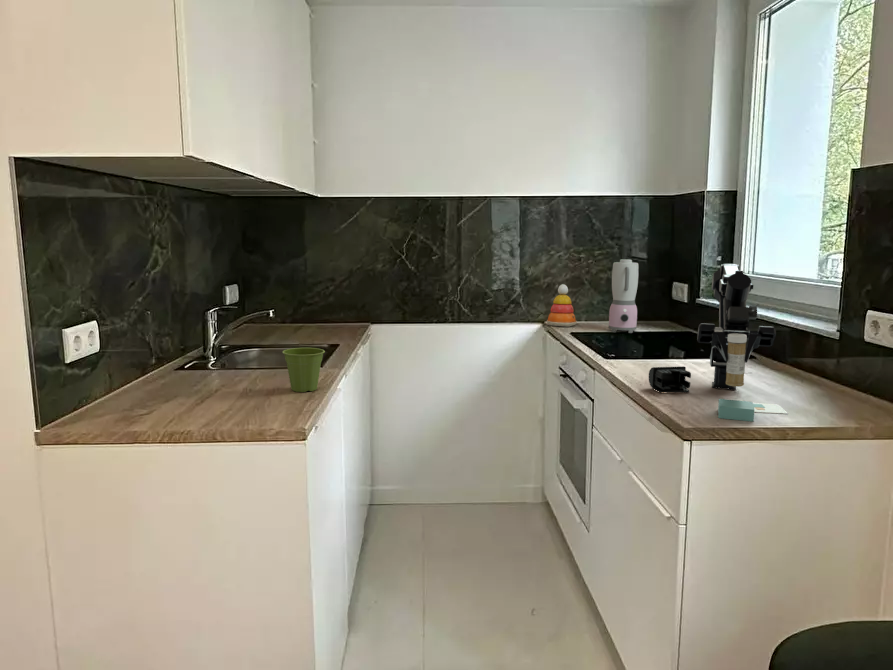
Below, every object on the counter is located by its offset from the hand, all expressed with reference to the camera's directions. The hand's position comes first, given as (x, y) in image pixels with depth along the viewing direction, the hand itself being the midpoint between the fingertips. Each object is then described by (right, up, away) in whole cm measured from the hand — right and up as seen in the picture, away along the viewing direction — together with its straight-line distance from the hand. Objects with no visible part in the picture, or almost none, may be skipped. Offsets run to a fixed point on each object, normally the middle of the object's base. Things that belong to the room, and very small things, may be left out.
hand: (736, 361), depth 175 cm
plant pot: (-115, -9, +19) cm, 117 cm away
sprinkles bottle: (+1, -6, +2) cm, 7 cm away
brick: (-2, -14, -4) cm, 14 cm away
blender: (+4, +8, +129) cm, 130 cm away
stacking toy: (-20, +11, +146) cm, 148 cm away
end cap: (-10, -9, +23) cm, 27 cm away
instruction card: (+7, -12, +4) cm, 15 cm away
